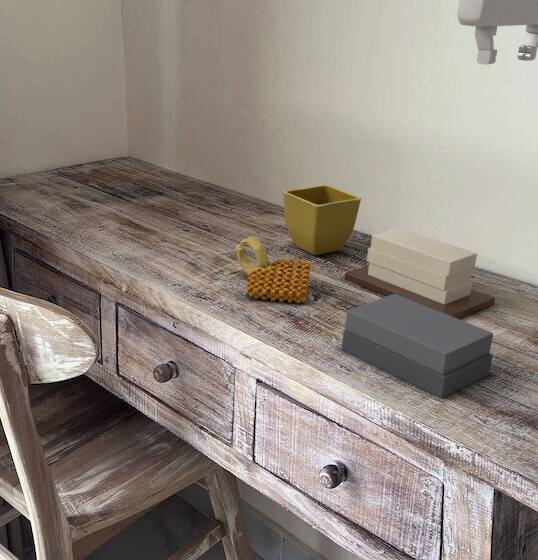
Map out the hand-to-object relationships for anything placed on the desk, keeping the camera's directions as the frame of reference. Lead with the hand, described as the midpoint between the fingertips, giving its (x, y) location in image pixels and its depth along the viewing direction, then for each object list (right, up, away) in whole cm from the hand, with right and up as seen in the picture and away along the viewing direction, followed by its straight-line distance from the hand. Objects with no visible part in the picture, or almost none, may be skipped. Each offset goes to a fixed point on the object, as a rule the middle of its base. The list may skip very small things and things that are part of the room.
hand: (506, 62), depth 105 cm
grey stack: (-15, -37, -11) cm, 42 cm away
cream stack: (-9, -30, +9) cm, 32 cm away
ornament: (-30, -29, +8) cm, 43 cm away
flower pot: (-21, -23, +24) cm, 39 cm away
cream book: (-9, -25, +7) cm, 27 cm away
